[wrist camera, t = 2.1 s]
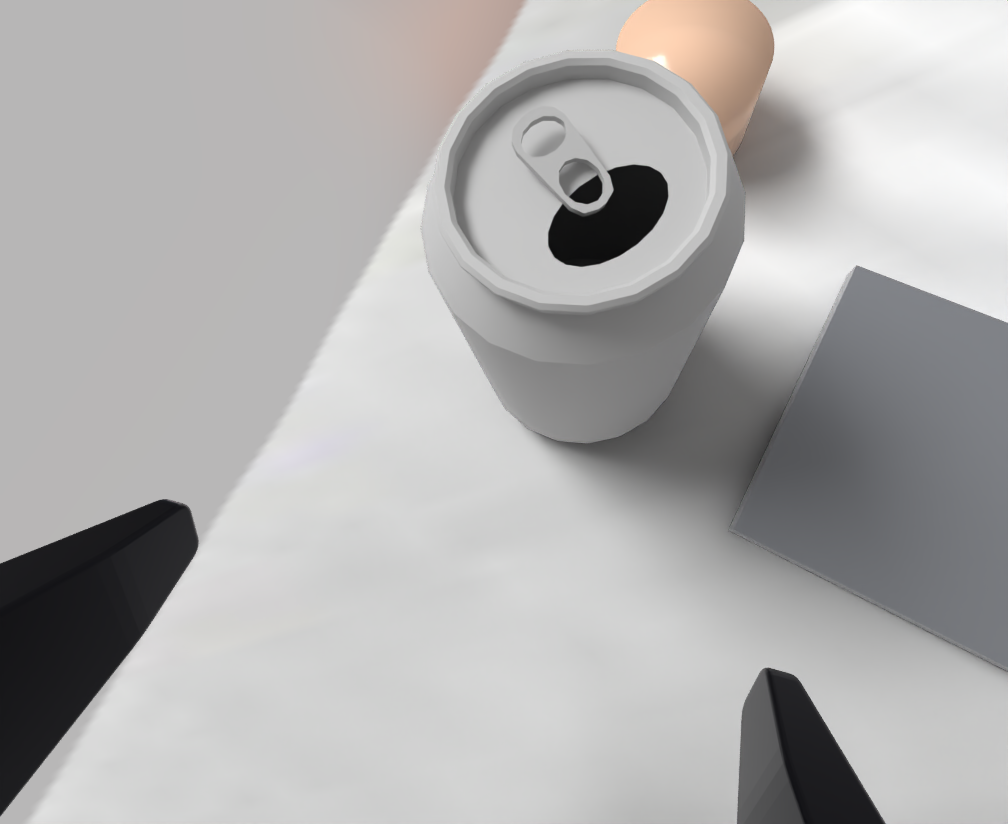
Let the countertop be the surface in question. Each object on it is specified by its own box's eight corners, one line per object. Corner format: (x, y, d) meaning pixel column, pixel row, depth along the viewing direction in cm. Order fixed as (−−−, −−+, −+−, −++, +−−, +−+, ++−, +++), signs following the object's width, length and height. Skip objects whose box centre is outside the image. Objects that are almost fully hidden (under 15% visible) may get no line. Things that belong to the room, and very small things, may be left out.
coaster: (1057, 696, 19) (1077, 702, 18) (728, 530, 22) (733, 529, 21) (1166, 398, 21) (1188, 392, 20) (847, 275, 23) (856, 265, 22)
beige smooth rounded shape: (703, 203, 25) (725, 138, 21) (586, 147, 26) (587, 77, 22) (770, 100, 25) (803, 18, 22) (653, 51, 27) (664, -34, 23)
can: (569, 487, 23) (551, 416, 11) (451, 346, 25) (333, 160, 13) (719, 364, 23) (855, 170, 11) (592, 234, 25) (597, -44, 13)
